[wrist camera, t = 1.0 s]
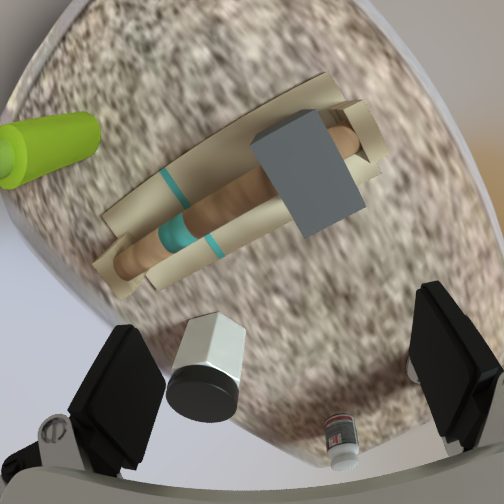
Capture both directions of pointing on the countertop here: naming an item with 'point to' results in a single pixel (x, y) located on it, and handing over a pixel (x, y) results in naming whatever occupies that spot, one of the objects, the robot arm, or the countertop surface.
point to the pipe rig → (225, 192)
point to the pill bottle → (342, 442)
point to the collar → (307, 171)
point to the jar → (207, 369)
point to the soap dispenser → (45, 146)
